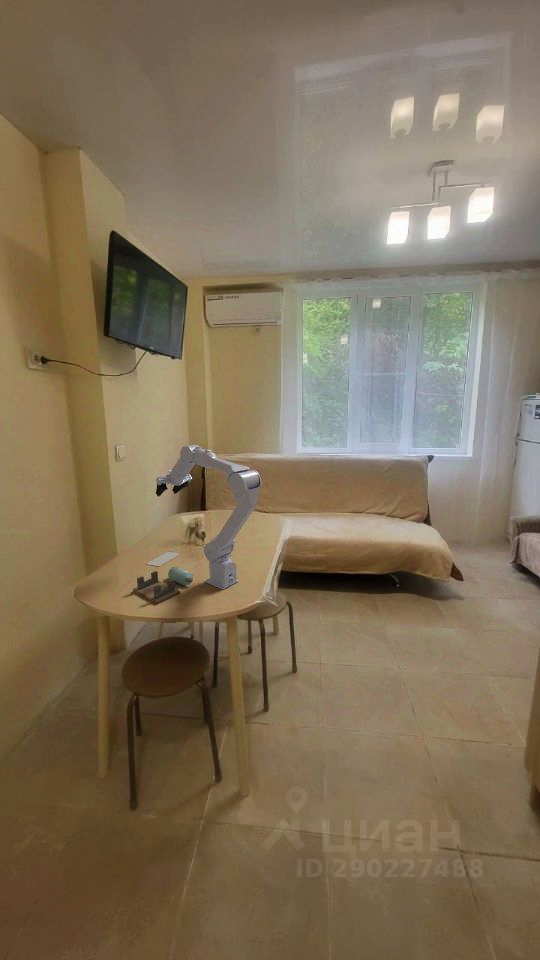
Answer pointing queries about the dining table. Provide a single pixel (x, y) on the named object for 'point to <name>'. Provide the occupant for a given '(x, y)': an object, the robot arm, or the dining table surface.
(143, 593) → the holder
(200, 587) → the dining table surface
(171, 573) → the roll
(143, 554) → the dining table surface
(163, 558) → the smartphone
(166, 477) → the robot arm
